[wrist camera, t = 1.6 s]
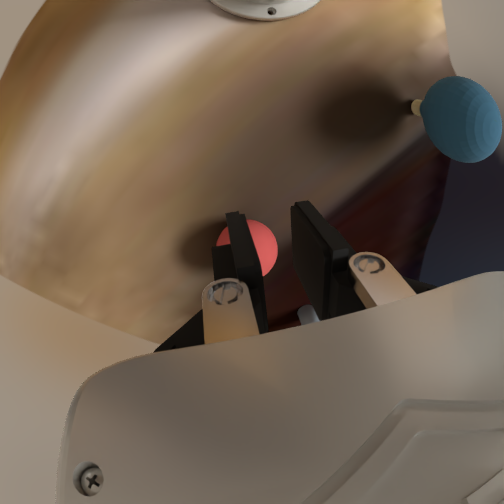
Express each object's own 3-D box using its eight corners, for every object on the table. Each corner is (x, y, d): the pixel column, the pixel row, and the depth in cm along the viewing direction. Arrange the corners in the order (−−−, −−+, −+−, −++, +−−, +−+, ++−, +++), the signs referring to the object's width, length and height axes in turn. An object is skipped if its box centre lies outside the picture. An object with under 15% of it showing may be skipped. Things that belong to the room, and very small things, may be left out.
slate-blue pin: (297, 306, 38) (317, 355, 31) (314, 302, 38) (337, 350, 31) (297, 319, 39) (316, 367, 32) (314, 315, 40) (335, 362, 32)
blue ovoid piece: (410, 155, 29) (484, 193, 19) (372, 101, 25) (453, 119, 15) (448, 113, 27) (523, 138, 17) (414, 58, 23) (497, 64, 13)
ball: (209, 215, 30) (212, 244, 24) (267, 205, 30) (282, 232, 25) (219, 263, 33) (223, 298, 28) (272, 254, 33) (285, 287, 28)
